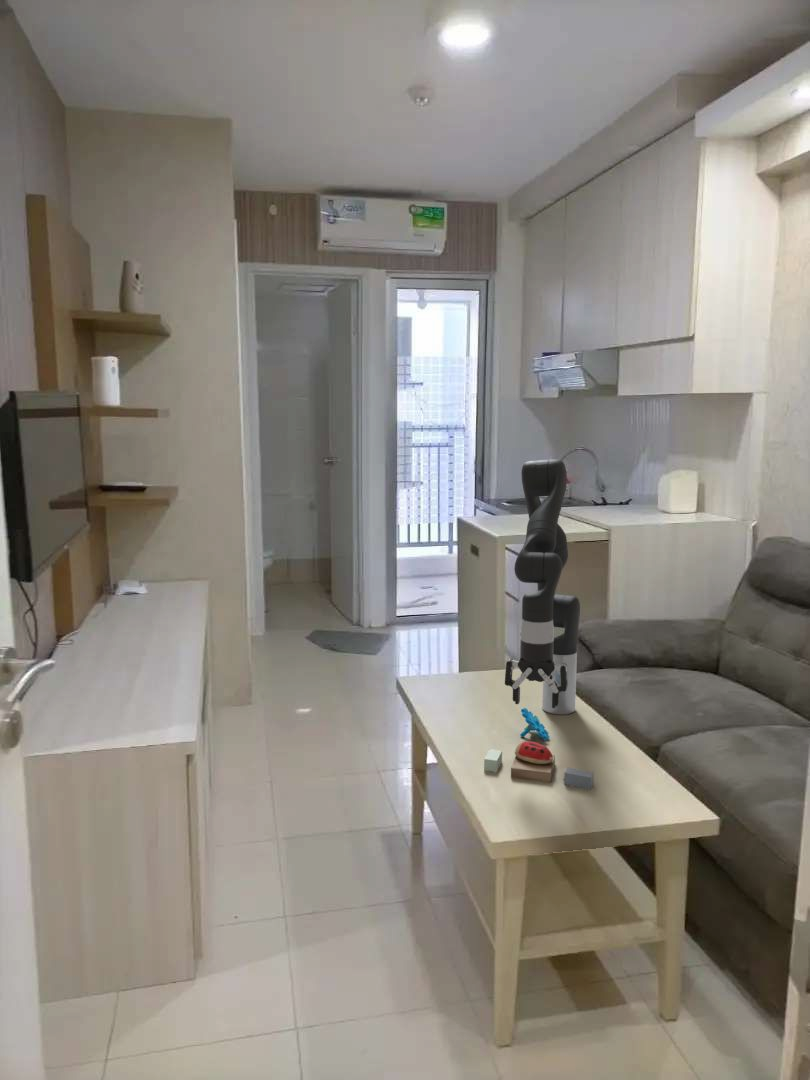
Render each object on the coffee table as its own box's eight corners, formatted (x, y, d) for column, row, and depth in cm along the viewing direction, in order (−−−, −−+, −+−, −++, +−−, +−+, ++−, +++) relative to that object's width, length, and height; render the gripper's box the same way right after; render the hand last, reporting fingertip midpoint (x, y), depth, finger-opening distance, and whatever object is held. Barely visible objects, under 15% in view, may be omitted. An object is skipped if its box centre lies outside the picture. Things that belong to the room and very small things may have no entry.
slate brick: (564, 785, 181) (564, 772, 181) (567, 779, 184) (567, 767, 183) (590, 790, 178) (590, 777, 178) (593, 784, 181) (593, 772, 181)
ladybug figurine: (523, 749, 195) (523, 735, 194) (559, 759, 188) (559, 745, 188) (508, 758, 189) (508, 744, 189) (545, 769, 183) (545, 754, 183)
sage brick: (489, 760, 194) (489, 749, 193) (501, 762, 193) (502, 750, 192) (484, 771, 188) (484, 758, 188) (496, 772, 187) (496, 760, 187)
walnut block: (517, 762, 194) (517, 750, 194) (554, 767, 191) (555, 755, 191) (510, 780, 185) (510, 767, 184) (549, 785, 182) (550, 772, 182)
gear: (550, 741, 201) (523, 710, 203) (533, 755, 202) (506, 725, 204) (552, 730, 212) (526, 701, 213) (536, 744, 213) (510, 716, 214)
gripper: (570, 636, 185) (568, 703, 187) (509, 631, 189) (508, 696, 192) (566, 645, 178) (564, 714, 180) (503, 639, 182) (502, 707, 185)
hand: (535, 705), depth 186 cm, fingers open, 8 cm apart
